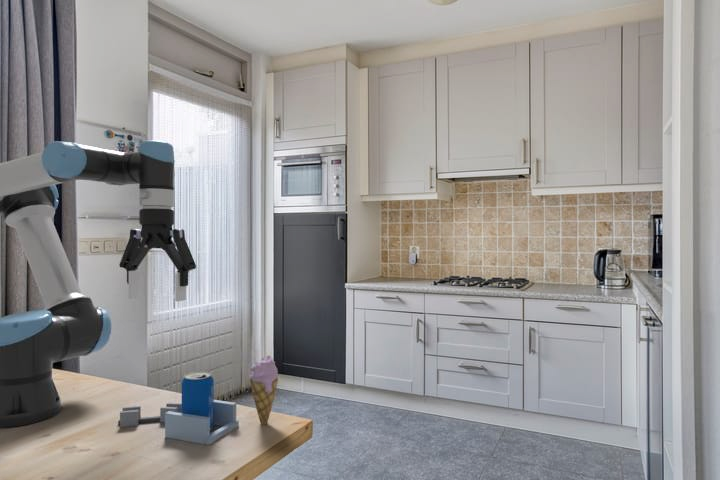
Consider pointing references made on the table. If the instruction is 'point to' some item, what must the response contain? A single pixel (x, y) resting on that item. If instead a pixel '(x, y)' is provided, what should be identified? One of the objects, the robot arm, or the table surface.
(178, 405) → the clip
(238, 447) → the table surface
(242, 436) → the table surface
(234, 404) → the end holder
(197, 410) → the beverage can
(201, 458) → the table surface
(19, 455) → the table surface
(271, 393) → the ice cream cone
